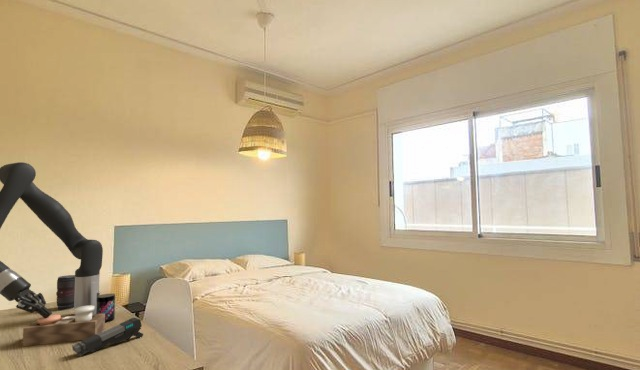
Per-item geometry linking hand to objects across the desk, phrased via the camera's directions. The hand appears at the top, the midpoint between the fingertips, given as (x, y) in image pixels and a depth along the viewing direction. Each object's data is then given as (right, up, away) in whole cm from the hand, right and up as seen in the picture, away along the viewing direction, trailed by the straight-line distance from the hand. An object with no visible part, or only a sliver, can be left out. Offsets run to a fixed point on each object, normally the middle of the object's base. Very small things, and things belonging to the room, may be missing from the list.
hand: (49, 315), depth 124 cm
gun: (+27, -8, -8) cm, 29 cm away
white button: (+11, -5, +3) cm, 12 cm away
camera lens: (-23, -12, +40) cm, 47 cm away
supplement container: (+9, -10, +19) cm, 23 cm away
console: (+6, -8, +1) cm, 10 cm away
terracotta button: (0, -8, 0) cm, 8 cm away
